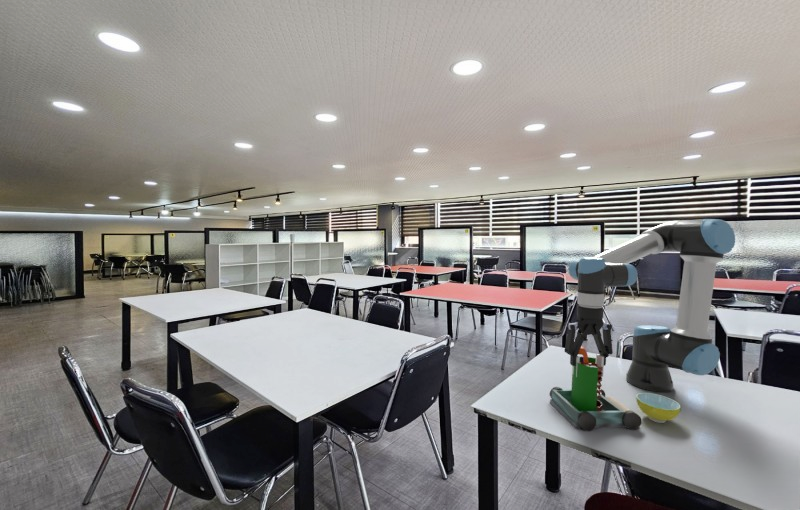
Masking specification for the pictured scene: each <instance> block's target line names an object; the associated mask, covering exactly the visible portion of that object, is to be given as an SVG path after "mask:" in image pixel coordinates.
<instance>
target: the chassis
mask: <svg viewBox="0 0 800 510" xmlns="http://www.w3.org/2000/svg"><path fill="white" fill-rule="evenodd" d="M571 391H572V388H570V389H569V388H568V389H565V388H562V387H559V386H554V387H552V388H551V389H550V391H549V397H550V400H549V403H550V404H551V405H552V406H553V407H554V409H556V410H557V411H558V412H559V413H560V414H561V415H562V416H563V417H564V418H565V419H566V420H567V421H568V423H569V424H571V425H572V426H573V427H574V428H575V429H582V430H584V431H587V432H588V431H589V432H590V431H592V430H593V429H595V428H596V429H599V428H627V429H629V430H632V431H634V430H637V429H639V428H640V426H641V425H642V418H641V416H640V415H639V414H638V413H636V412H635V411H633V410H631V409H629V408H628V407H627V406H625V405H624V404H622V403H621V402H620V401H618V400H617V399H615V398H614V397H613V396H606V392H605V390H604V389H602V391H601V397H600V398H597V400H599V401H600V402H601V403H602V411H578V410H577V409H576V408H575V407H574V406H573V405H571Z"/></svg>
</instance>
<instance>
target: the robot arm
mask: <svg viewBox="0 0 800 510" xmlns="http://www.w3.org/2000/svg"><path fill="white" fill-rule="evenodd" d="M735 245H736V235H735V231H734V229H733V228H732V227H731V225H730V224H729V222H727V221H726V220H723V219H718V218H717V219H716V218H702V219H700V218H699V219H683V220H682V219H681V220H680V219H678V220H677V219H676V220H672V221H668V222H665V223H662V224H659V225H657V226H654V227H651V228H649V229H647V230H644V231H642V232H641V234H640V235H639V236H637V237H635V238H633V239H631V240H628V241H626V242H623V243H622V244H619V245H617V246H614V247H612V248H609V249H607V250H606V251H603V252H601V253H599V254H597V255H594V256H592V257H581V258H579V259H576V260H573V261H572V262H570V264H569V266H568V274H569V276H570V278H572V279H574V280H577V300H576V301H577V302H576V303H577V304H578V305H576V321H575V322H572V323H570V322H567V324H566V325H567V334H566V340H565V345H564V346H565V347H564V349H563V350H564V353H566V354H567V355H569V356H570V357H569V359H570V360H569V363H570V366H572V367H571V375H572V374H573V371H574V366H576V377H577V364H576V363H579V362H580V357H578V356H579V354H578V353H579V350H580V348H581V347H583V346H582V345H583V343H584V341H585V339H586V338H587V337H588V336H591V335H592V337H593V339H594V342H595V345H596V347H597V348H596V349H597V352H598V353H596V357H595V358H596V364H597V366H598V367H600V368H601V367H603V370H602V371H600V372H599V373H601V372H602V376H601V377H602V378H603V377H604V370H605V369H604V366H605V367H606V364H607V358H609V355H612V354H613V353H614V352H613V341H612V340H613V339H612V329H613V325H612V323H611V324H610V323H608V322H603V318H604V309H605V308H604V305H605V288H607V287H608V288H610V287H612V288H615V287H621V288H622V287H623V288H624V287H629V286H632V285H634V284H635V283H637V280H638V270H637V268H636V267H635V265H633V264H630V263H634V262H636V261H637V260H640V259H643V258H644V257H646V256H649V255H658V254H661V253H662V252H663V253H664V252H679V257H680V258H681V260H683V262H684V263H683V269H682V275H681V276H682V279H681V284H680V285H681V286H680V292H679V300H678V309H677V317H676V323H675V326H673V328H670V327H667V326H663V325H650V324H649V325H638V326H637V325H636V326H635V327H634V328H633V329H634V330H633V334H632V358H631V359H632V360H631V364H629V365H630V366H629V368H628V371H627V372H626V374H625V375H626V376H625V380H626V381H627V382H628V383H629V384H631V385H632V386H635V387H637V388H640V389H643V390H646V391H652V392H659V393H667V392H668V393H669V392H672V391H673V389H674V381H673V379H672V375H671V372H670V368H669V366H670V367H672V368H675V369H677V370H681V371H683V372H685V373H688V374H692V375H696V376H705V375H708V374H710V373H711V372H712V371H713V370H715V368H716V367H717V366H718V365H719V361H720V356H721V353H720V351H719V348H718V346H716V345H715V344H713V337H712V336H711V334H710V333H709V332H708V329H709V323H710V322H709V321H710V315H711V307H712V298H713V293H714V286H715V277H716V269H717V264H718V263H719V262H721V261H722V260H724V255H725V254H728V253H731V251H732V250H733V249H734V247H735ZM577 328H578V329H577ZM600 330H602V333H601V331H600ZM576 331H577V332H576Z"/></svg>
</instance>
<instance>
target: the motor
mask: <svg viewBox="0 0 800 510" xmlns="http://www.w3.org/2000/svg"><path fill="white" fill-rule="evenodd" d="M577 356H578V357H580V362H579V363H576V364H577V377H576V366H574V371H573V374H572V373H571V389H572V391H571V405H573V406H574V407H575V408H576V409H577V410H578V411H602V403H601V402H600V401H599V400H597V398H600V397H601V391H602V390H603V389H602V386H603V384H602V383H603V382H602V381H603V377H601V376H602V372H601V373H599V372H600V371H602V370H603V371H604V369H603V367H601V368H600V367H598V366H597V364H596V357H594V356H588V352H587V350H586V348H585V347H583V346H581V348H580V350H579V353H578V355H577Z"/></svg>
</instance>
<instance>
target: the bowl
mask: <svg viewBox="0 0 800 510" xmlns="http://www.w3.org/2000/svg"><path fill="white" fill-rule="evenodd" d="M635 397H636V404H637V406H638V408H639V409H640V411H642V413H644V414H645V415H646V416H647V418H648V420H650V421H653V422H655V423H657V424H665V423H666V421H671V420H673V419H675V418H676V417H677V416H678V415H679V414H680V411H681V404H680V403H679V402H677V401H676V400H674V399H672V398H670V397H667V396H664V395H661V394H658V393H654V392H653V393H652V392H640V393H637V394H636V396H635Z"/></svg>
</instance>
